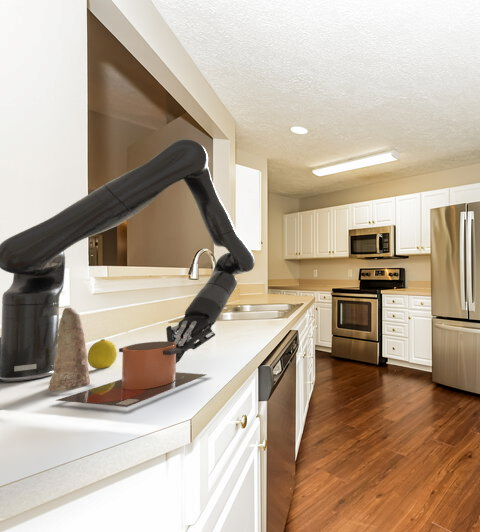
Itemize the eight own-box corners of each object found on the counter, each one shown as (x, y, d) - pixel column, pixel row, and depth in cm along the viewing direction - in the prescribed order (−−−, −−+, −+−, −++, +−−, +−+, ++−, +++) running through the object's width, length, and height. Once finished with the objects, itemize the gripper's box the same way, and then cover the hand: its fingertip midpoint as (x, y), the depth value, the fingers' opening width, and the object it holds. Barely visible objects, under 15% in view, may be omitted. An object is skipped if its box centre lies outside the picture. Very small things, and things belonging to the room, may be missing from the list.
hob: (53, 405, 63) (54, 399, 64) (149, 374, 83) (150, 369, 83) (126, 412, 61) (126, 406, 61) (207, 378, 80) (208, 374, 80)
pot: (102, 387, 71) (103, 348, 71) (143, 374, 80) (144, 339, 80) (156, 392, 68) (157, 351, 69) (192, 377, 78) (193, 342, 78)
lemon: (99, 375, 82) (100, 341, 82) (81, 373, 83) (82, 340, 84) (122, 368, 88) (122, 337, 88) (104, 367, 89) (105, 336, 89)
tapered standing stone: (41, 399, 69) (72, 399, 69) (33, 312, 66) (65, 313, 67) (69, 384, 75) (98, 384, 75) (63, 304, 72) (93, 305, 73)
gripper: (178, 295, 90) (135, 352, 78) (223, 296, 88) (186, 355, 76) (193, 312, 95) (155, 369, 83) (236, 314, 93) (203, 372, 81)
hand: (170, 362), depth 79 cm, fingers closed
